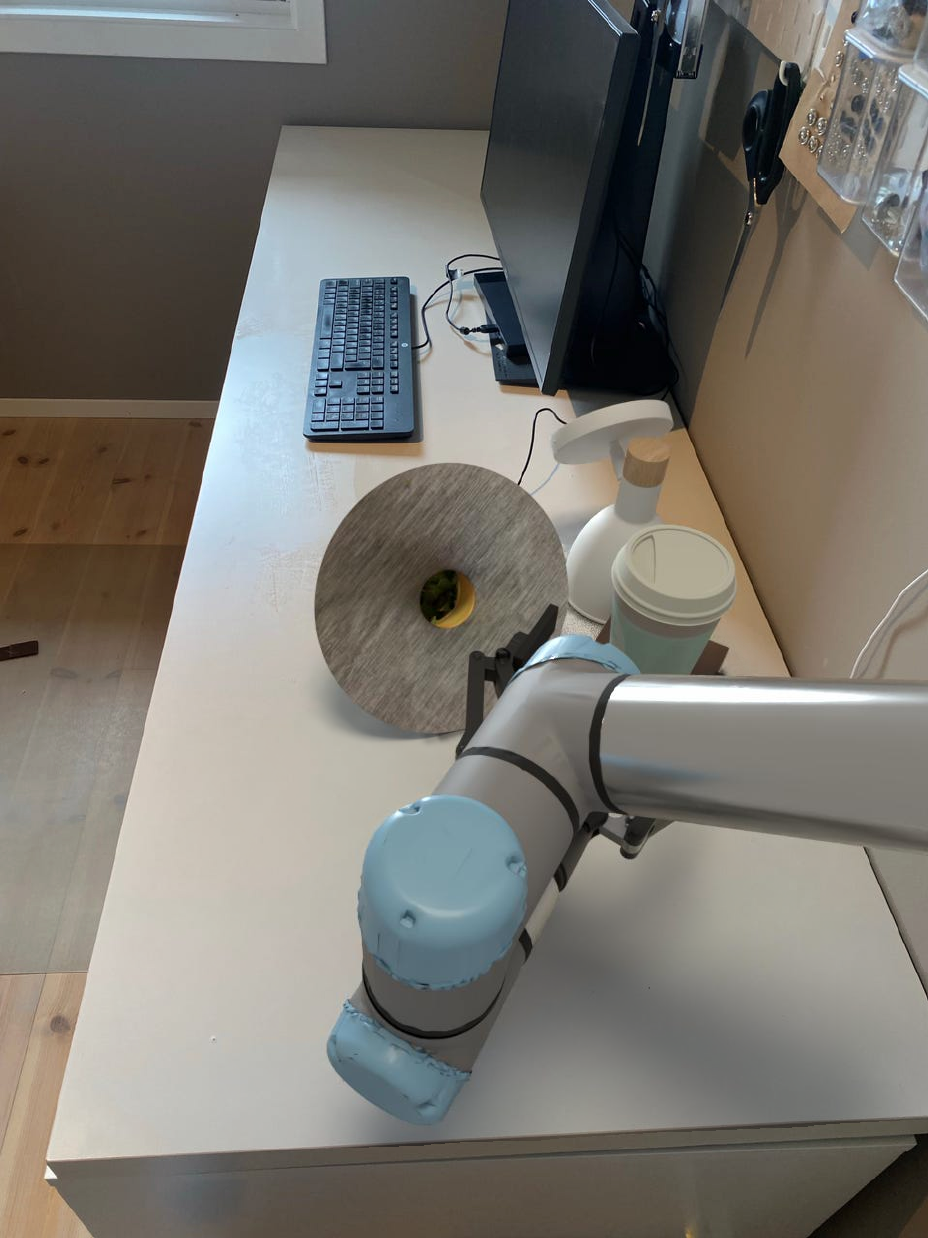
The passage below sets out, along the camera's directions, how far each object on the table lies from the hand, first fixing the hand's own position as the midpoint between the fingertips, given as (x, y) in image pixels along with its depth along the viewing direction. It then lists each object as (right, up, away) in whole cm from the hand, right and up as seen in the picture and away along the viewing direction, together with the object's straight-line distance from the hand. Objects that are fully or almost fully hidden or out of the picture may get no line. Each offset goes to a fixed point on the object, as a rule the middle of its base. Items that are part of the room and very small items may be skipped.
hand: (632, 649), depth 70 cm
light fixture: (+3, +8, +32) cm, 33 cm away
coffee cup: (+4, -3, +16) cm, 17 cm away
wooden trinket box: (+4, -6, +19) cm, 20 cm away
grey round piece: (-16, -2, +22) cm, 27 cm away
